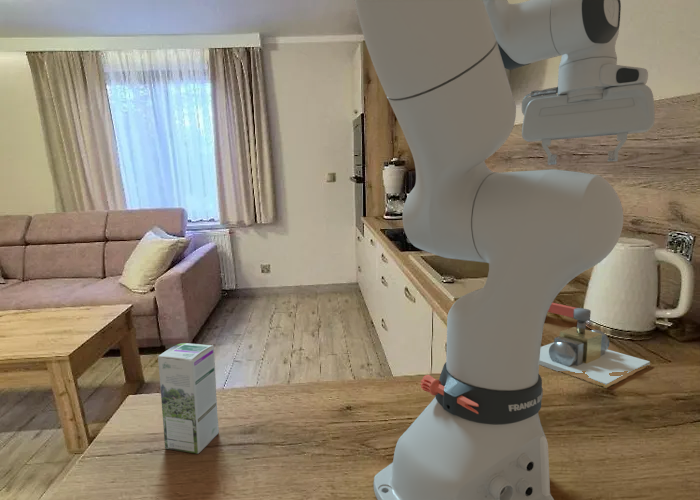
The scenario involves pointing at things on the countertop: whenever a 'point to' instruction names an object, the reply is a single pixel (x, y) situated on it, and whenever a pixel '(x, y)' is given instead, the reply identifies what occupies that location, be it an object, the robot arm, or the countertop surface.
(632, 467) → the countertop surface
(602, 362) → the mounting board
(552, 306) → the lever
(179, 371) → the syrup box
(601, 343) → the valve
